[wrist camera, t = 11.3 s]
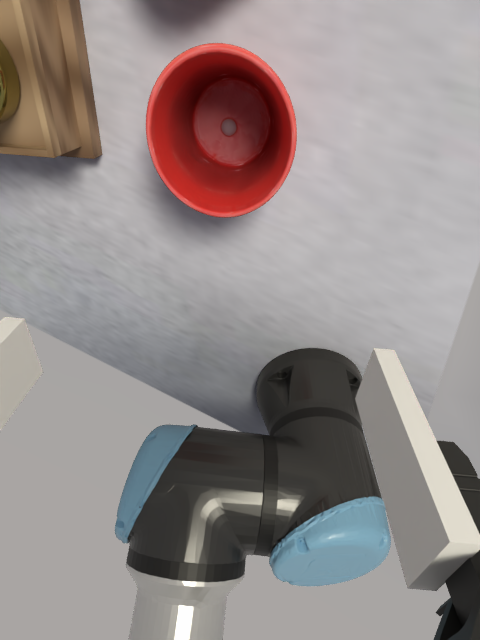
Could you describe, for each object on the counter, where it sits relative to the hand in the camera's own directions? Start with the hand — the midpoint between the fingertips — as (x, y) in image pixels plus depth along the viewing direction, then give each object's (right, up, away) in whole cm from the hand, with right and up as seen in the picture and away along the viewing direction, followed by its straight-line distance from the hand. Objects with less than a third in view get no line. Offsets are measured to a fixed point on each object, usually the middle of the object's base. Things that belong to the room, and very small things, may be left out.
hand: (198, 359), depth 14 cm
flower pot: (+1, +20, +19) cm, 27 cm away
